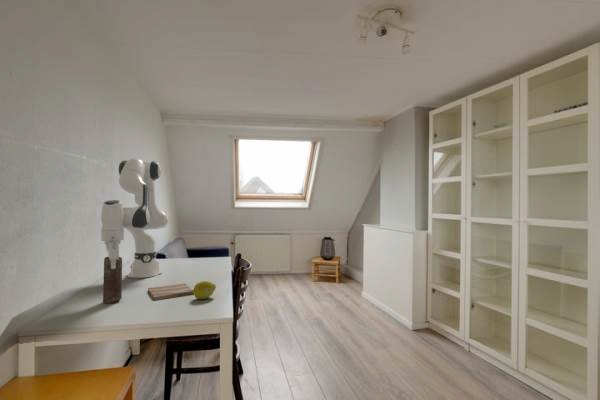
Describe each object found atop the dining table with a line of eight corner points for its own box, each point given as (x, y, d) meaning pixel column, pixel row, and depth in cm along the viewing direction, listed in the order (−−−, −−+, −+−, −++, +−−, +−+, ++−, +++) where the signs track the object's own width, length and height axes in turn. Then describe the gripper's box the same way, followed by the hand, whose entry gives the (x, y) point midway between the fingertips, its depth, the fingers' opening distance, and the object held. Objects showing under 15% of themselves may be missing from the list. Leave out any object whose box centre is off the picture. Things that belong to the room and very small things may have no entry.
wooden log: (119, 297, 153) (119, 255, 153) (124, 301, 148) (124, 257, 148) (100, 301, 148) (100, 257, 148) (105, 305, 142) (105, 259, 142)
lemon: (193, 302, 146) (193, 284, 146) (190, 298, 153) (190, 280, 153) (218, 299, 151) (218, 281, 151) (213, 294, 158) (213, 278, 158)
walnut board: (148, 291, 165) (148, 288, 165) (184, 286, 175) (184, 283, 175) (154, 300, 150) (154, 296, 150) (194, 294, 159) (194, 290, 159)
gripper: (122, 238, 141) (122, 270, 141) (118, 234, 158) (118, 262, 158) (105, 239, 137) (105, 272, 137) (103, 234, 155) (103, 264, 155)
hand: (112, 266), depth 148 cm, fingers closed on wooden log, 7 cm apart
